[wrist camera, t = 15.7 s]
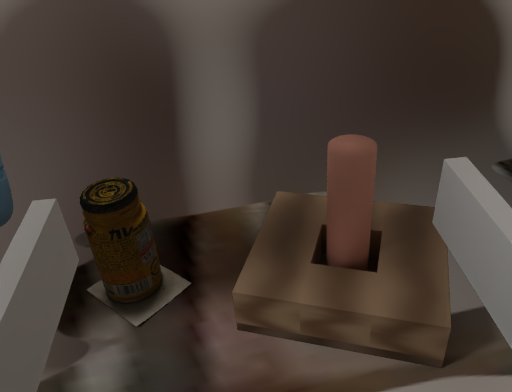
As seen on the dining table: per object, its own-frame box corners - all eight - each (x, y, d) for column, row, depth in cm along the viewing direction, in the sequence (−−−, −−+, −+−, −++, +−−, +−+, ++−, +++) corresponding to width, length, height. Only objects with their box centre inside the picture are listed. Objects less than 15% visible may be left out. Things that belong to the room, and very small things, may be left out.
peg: (323, 288, 47) (323, 155, 38) (329, 261, 50) (331, 133, 41) (364, 295, 46) (375, 159, 37) (368, 266, 49) (379, 136, 40)
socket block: (237, 329, 45) (232, 291, 42) (279, 225, 57) (277, 191, 54) (441, 368, 40) (451, 328, 37) (438, 245, 52) (445, 208, 49)
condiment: (141, 253, 55) (115, 164, 48) (191, 284, 50) (171, 190, 43) (87, 291, 50) (50, 198, 44) (136, 329, 46) (105, 231, 39)
